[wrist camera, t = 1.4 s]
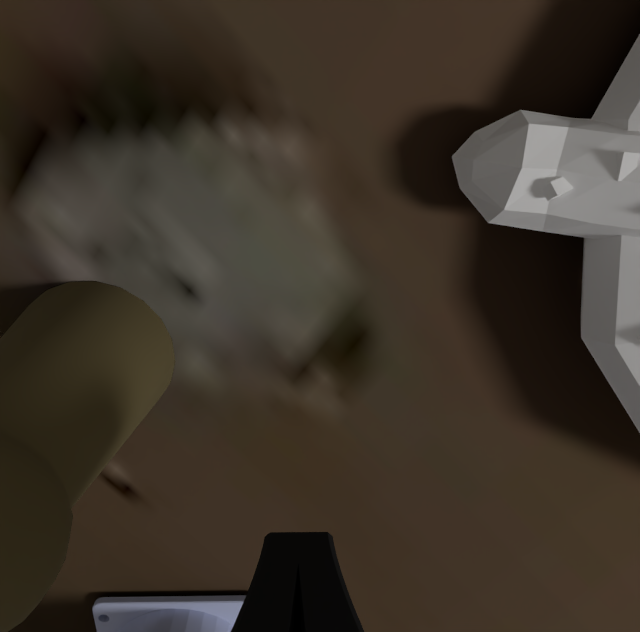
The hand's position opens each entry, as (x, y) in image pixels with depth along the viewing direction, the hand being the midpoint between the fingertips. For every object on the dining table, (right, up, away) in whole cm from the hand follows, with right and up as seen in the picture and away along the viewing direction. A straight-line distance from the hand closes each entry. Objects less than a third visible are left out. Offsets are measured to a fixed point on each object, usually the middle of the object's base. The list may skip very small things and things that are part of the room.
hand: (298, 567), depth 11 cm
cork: (-8, +4, +9) cm, 13 cm away
